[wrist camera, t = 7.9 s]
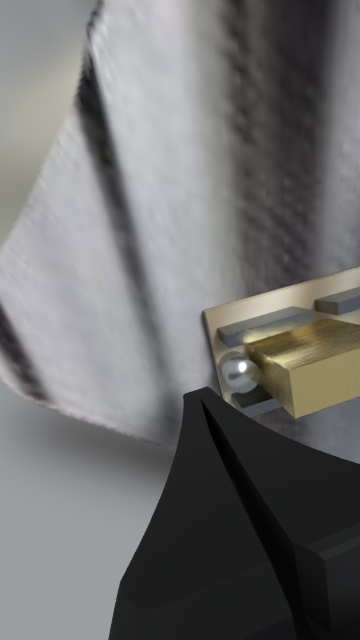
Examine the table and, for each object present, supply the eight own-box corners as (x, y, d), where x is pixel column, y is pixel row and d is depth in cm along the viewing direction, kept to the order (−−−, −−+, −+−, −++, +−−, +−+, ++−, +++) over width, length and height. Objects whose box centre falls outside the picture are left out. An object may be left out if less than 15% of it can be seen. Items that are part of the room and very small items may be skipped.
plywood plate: (379, 261, 13) (389, 260, 13) (379, 362, 15) (388, 366, 15) (202, 310, 12) (205, 311, 12) (226, 414, 14) (229, 419, 14)
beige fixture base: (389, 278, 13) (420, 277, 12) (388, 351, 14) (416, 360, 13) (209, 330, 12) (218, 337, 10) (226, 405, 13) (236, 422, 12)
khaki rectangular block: (328, 318, 13) (402, 334, 9) (330, 352, 14) (401, 381, 10) (246, 342, 12) (289, 370, 9) (252, 377, 13) (295, 418, 9)
